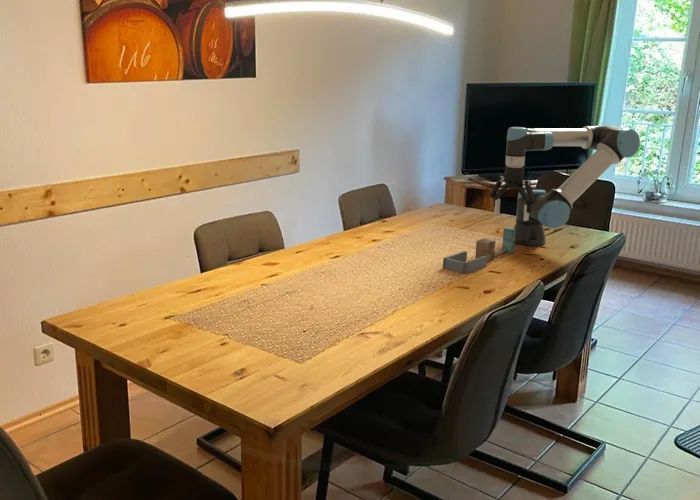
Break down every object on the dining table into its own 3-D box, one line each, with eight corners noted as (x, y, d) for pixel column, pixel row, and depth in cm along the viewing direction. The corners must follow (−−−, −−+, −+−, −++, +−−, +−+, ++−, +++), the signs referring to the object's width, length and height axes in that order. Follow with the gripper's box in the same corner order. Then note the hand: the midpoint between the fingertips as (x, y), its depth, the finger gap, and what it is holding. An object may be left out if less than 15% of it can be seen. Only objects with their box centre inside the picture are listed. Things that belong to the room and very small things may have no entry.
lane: (463, 260, 274) (464, 250, 273) (486, 266, 267) (487, 256, 266) (442, 267, 264) (443, 257, 263) (465, 274, 257) (466, 263, 256)
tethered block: (504, 249, 290) (506, 226, 288) (515, 252, 287) (517, 228, 284) (475, 260, 275) (476, 236, 272) (485, 262, 271) (487, 238, 269)
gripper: (483, 163, 283) (480, 214, 289) (538, 171, 267) (534, 224, 273) (493, 161, 288) (490, 211, 294) (547, 168, 272) (543, 221, 278)
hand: (511, 217), depth 283 cm, fingers open, 13 cm apart
